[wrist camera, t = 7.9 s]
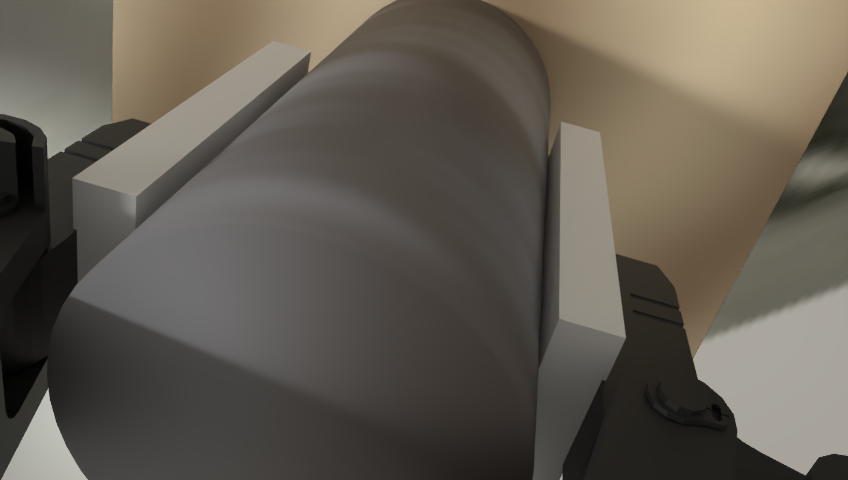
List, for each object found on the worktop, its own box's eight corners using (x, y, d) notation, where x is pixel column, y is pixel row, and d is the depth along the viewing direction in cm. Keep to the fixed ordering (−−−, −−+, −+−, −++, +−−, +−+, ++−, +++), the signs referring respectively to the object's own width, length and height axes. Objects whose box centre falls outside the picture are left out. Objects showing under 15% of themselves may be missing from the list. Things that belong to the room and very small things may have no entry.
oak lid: (127, 269, 22) (-263, 653, 12) (145, -413, 14) (-1066, -1152, 4) (643, 420, 21) (719, 962, 11) (967, -200, 13) (2346, -341, 3)
